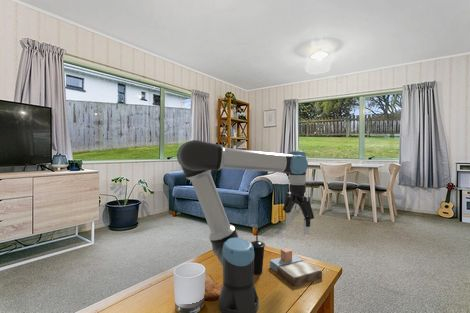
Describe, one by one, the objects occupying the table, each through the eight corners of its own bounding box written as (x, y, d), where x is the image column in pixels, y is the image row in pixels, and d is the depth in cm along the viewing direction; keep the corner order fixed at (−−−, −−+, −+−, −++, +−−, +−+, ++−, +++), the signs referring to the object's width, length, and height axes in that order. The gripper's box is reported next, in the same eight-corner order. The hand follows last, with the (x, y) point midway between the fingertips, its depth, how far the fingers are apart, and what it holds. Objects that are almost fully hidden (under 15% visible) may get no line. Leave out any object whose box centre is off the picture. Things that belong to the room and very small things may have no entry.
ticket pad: (293, 286, 104) (293, 277, 104) (277, 273, 115) (277, 266, 115) (322, 278, 110) (322, 270, 110) (304, 267, 121) (304, 259, 121)
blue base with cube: (277, 272, 115) (277, 255, 115) (269, 266, 122) (269, 250, 122) (302, 266, 122) (302, 250, 121) (293, 261, 128) (293, 245, 128)
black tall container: (246, 274, 115) (246, 231, 115) (252, 267, 121) (252, 227, 121) (261, 277, 111) (261, 234, 111) (267, 270, 118) (267, 229, 118)
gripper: (322, 186, 104) (322, 236, 105) (287, 180, 126) (287, 222, 127) (309, 187, 101) (309, 238, 101) (275, 181, 123) (275, 223, 123)
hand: (297, 229), depth 114 cm, fingers open, 12 cm apart
